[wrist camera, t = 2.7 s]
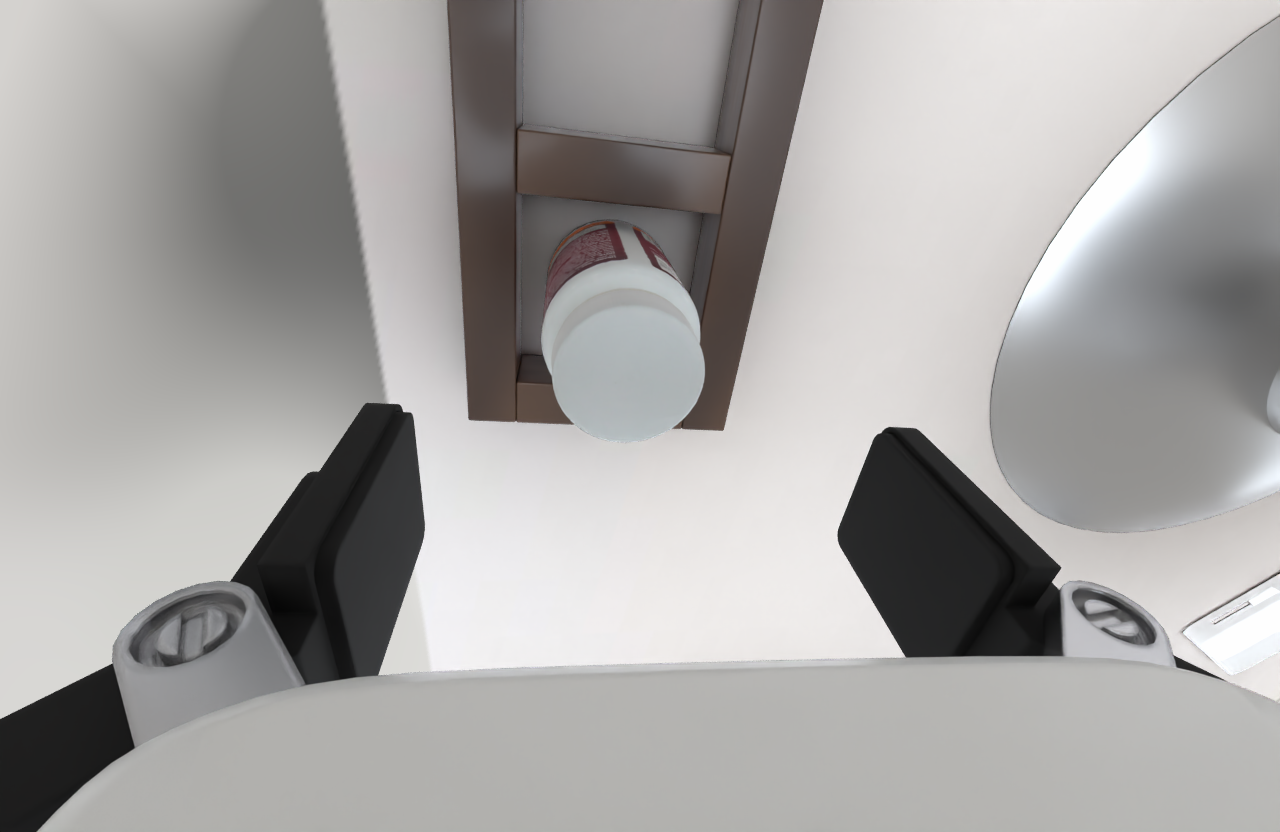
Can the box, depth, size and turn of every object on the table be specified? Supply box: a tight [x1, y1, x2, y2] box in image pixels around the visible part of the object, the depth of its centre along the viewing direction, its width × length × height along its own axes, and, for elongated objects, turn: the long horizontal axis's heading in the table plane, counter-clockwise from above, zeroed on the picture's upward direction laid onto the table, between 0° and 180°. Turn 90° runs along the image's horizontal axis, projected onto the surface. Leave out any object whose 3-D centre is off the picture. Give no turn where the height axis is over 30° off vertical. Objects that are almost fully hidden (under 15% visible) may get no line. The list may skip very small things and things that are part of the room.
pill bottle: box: [541, 220, 705, 442], centre depth 17 cm, size 5×5×8 cm
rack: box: [447, 0, 823, 431], centre depth 18 cm, size 10×19×2 cm, turn 173°
